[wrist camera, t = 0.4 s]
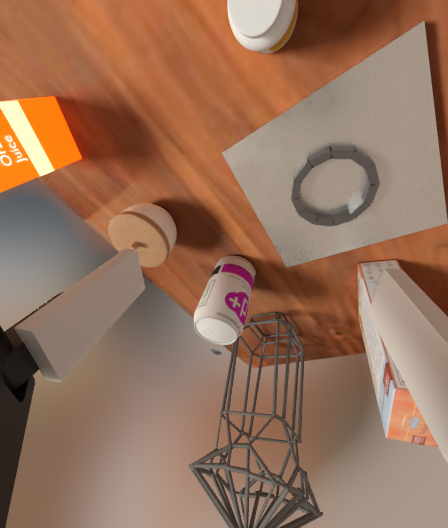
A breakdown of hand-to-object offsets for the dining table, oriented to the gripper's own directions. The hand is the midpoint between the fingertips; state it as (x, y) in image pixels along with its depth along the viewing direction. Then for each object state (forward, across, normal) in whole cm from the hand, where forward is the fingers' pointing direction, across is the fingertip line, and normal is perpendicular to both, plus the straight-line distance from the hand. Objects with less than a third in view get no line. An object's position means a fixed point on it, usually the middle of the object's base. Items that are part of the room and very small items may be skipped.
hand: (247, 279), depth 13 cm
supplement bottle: (+22, -1, +18) cm, 28 cm away
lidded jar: (+28, -20, -6) cm, 35 cm away
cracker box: (+28, +20, -17) cm, 38 cm away
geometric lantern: (+32, +4, -32) cm, 45 cm away
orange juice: (+26, -36, +9) cm, 45 cm away
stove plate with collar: (+24, +9, +1) cm, 26 cm away
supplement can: (+29, -5, -16) cm, 34 cm away
